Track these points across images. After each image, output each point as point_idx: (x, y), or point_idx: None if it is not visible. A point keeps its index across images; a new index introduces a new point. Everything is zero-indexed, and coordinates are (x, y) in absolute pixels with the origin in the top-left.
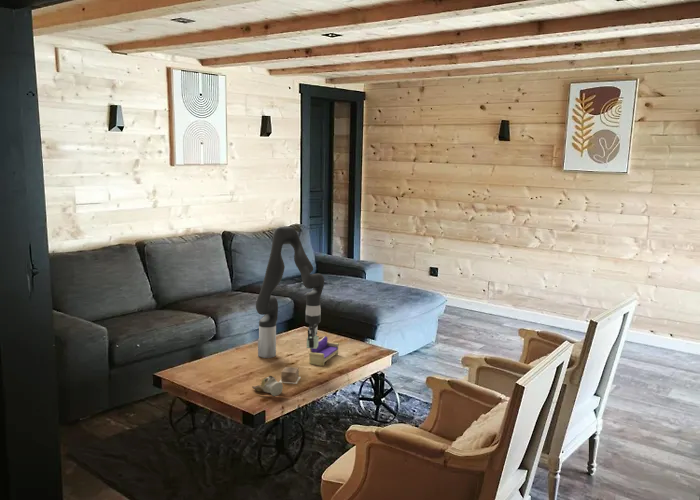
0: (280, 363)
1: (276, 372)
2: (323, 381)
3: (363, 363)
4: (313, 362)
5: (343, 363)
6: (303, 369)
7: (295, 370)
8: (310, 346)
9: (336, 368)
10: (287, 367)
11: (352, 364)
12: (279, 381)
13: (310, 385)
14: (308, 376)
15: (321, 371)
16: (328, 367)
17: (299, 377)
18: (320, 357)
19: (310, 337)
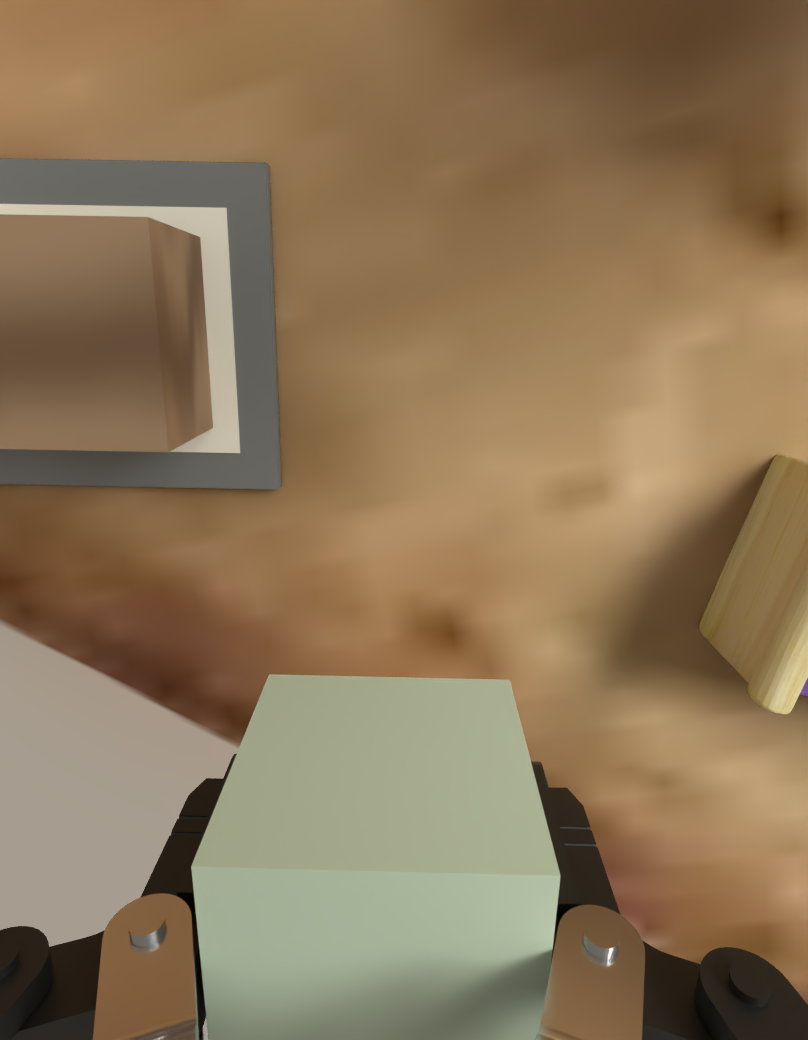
0: (765, 17)
1: (377, 57)
2: (218, 698)
3: (790, 979)
4: (763, 513)
5: (786, 815)
6: (548, 420)
7: (49, 427)
8: (195, 807)
9: (623, 769)
10: (133, 269)
11: (757, 895)
12: (7, 205)
13: (67, 592)
14: (324, 523)
15: (509, 636)
16: (647, 688)
17: (217, 438)
18: (764, 640)
19: (333, 952)
